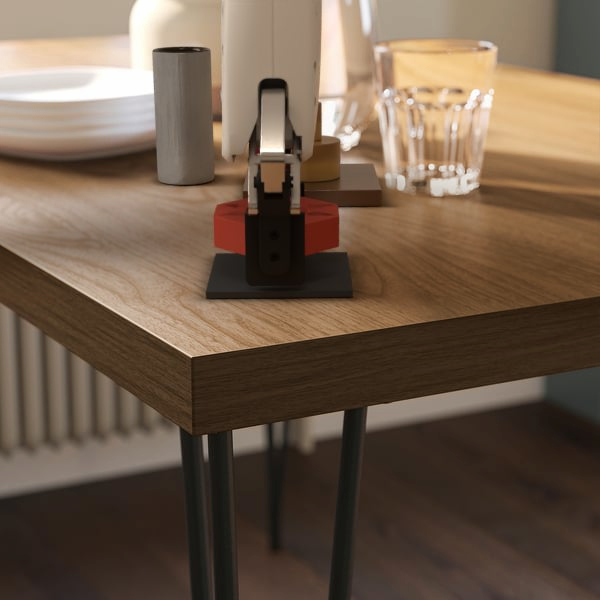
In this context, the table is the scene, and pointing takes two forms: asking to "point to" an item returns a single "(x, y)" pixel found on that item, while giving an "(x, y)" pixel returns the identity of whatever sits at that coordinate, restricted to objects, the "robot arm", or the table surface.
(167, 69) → the planter
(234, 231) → the ring
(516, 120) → the table surface
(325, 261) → the mat
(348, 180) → the ring holder
